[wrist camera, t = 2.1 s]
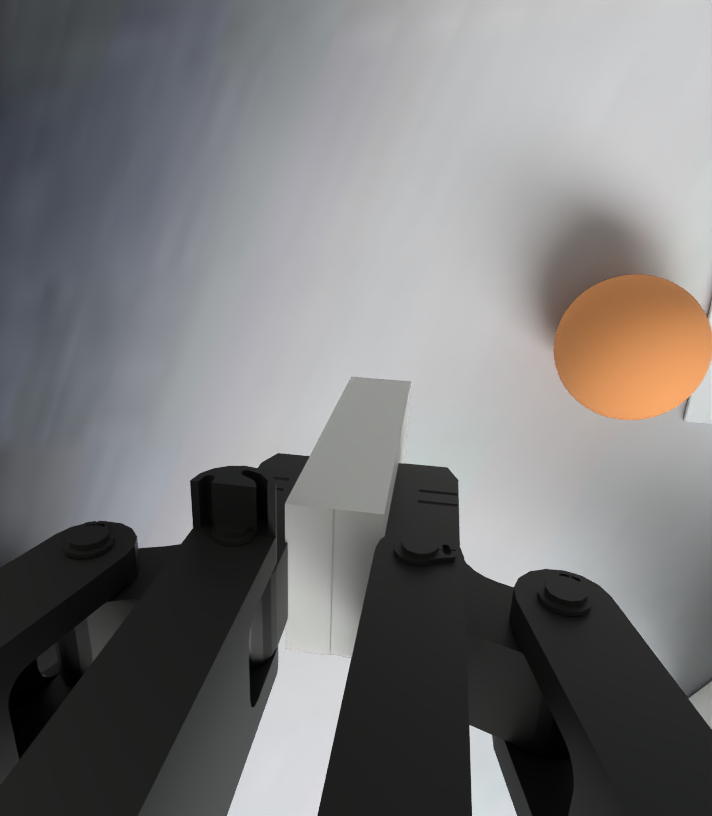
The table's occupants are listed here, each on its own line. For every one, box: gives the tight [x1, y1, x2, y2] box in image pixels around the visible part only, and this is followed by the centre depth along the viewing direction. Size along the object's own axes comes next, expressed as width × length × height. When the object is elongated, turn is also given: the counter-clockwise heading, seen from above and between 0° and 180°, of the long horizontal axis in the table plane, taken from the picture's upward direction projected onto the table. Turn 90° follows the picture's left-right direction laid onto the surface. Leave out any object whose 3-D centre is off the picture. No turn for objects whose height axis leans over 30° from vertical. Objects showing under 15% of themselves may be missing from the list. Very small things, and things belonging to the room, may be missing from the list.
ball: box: [554, 274, 712, 420], centre depth 25 cm, size 6×6×6 cm
